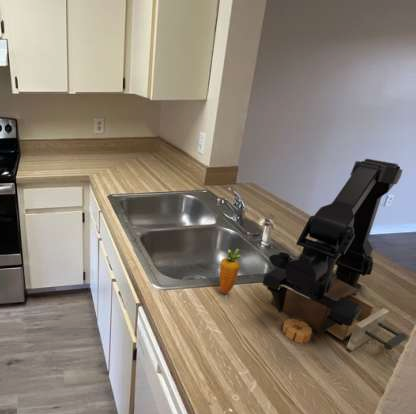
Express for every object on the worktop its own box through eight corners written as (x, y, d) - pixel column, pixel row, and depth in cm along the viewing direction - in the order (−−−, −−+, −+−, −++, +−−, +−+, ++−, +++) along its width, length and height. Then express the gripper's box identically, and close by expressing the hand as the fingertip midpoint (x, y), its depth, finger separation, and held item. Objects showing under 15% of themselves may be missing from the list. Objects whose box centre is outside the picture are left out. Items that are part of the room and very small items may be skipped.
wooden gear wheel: (292, 322, 84) (294, 315, 84) (314, 337, 80) (317, 330, 79) (277, 329, 82) (279, 323, 81) (299, 345, 78) (302, 338, 77)
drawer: (405, 348, 75) (417, 325, 73) (378, 368, 71) (389, 344, 68) (329, 304, 89) (337, 283, 86) (302, 318, 84) (309, 296, 82)
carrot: (229, 288, 97) (238, 244, 91) (236, 299, 93) (246, 253, 87) (212, 288, 97) (220, 244, 91) (219, 300, 93) (227, 254, 86)
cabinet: (347, 316, 86) (358, 289, 83) (317, 333, 81) (327, 305, 77) (300, 289, 97) (308, 263, 93) (271, 302, 91) (278, 276, 88)
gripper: (380, 274, 71) (357, 329, 77) (289, 240, 84) (276, 289, 91) (362, 295, 65) (339, 353, 71) (268, 254, 78) (255, 307, 85)
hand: (299, 322), depth 80 cm, fingers open, 9 cm apart
